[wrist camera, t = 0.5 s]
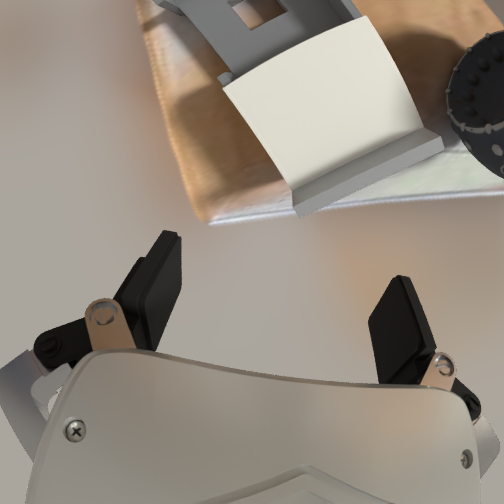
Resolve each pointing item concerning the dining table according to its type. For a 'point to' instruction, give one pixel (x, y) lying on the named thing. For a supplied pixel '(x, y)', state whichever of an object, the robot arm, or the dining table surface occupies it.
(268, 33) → the housing
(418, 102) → the dining table surface
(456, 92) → the studded black wheel
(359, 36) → the lid
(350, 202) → the dining table surface
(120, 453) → the robot arm
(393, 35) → the dining table surface
